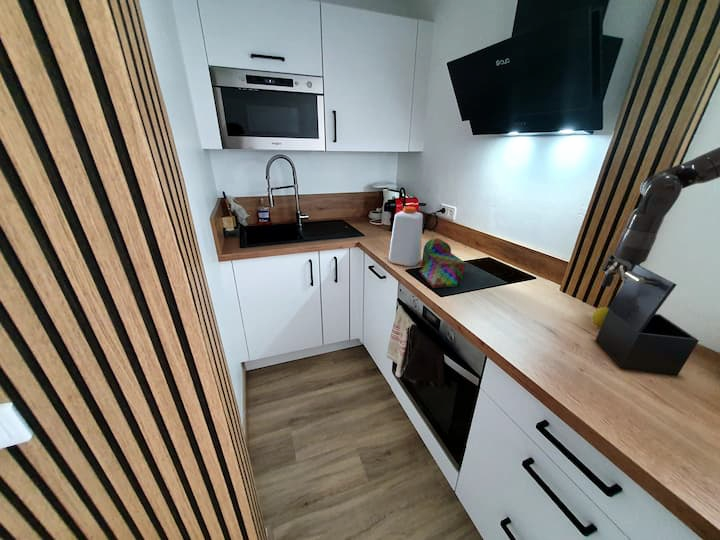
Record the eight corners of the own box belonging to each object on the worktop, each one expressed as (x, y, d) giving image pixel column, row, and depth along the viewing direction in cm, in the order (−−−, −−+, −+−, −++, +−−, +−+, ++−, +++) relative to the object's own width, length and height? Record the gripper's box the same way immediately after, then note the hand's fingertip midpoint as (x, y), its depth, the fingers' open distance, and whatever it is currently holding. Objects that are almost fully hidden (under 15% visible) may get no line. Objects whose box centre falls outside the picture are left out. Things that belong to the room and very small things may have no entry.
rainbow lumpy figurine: (411, 265, 144) (414, 238, 138) (442, 263, 147) (446, 237, 142) (433, 287, 121) (437, 256, 116) (468, 285, 125) (475, 255, 119)
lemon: (606, 325, 98) (615, 305, 95) (611, 334, 94) (620, 313, 91) (586, 321, 101) (594, 301, 97) (591, 329, 96) (599, 309, 93)
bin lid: (639, 265, 79) (620, 260, 80) (677, 284, 68) (655, 279, 68) (610, 308, 85) (593, 304, 86) (641, 332, 74) (621, 327, 74)
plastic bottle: (422, 258, 153) (428, 206, 142) (414, 268, 141) (420, 212, 130) (395, 253, 159) (399, 203, 148) (385, 262, 147) (389, 208, 136)
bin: (643, 346, 88) (660, 314, 83) (677, 376, 77) (699, 340, 72) (594, 341, 90) (608, 309, 85) (621, 369, 79) (639, 333, 74)
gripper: (668, 252, 78) (643, 304, 85) (632, 238, 91) (612, 283, 98) (638, 250, 79) (615, 301, 86) (606, 236, 92) (588, 281, 99)
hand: (614, 291), depth 92 cm, fingers open, 8 cm apart
